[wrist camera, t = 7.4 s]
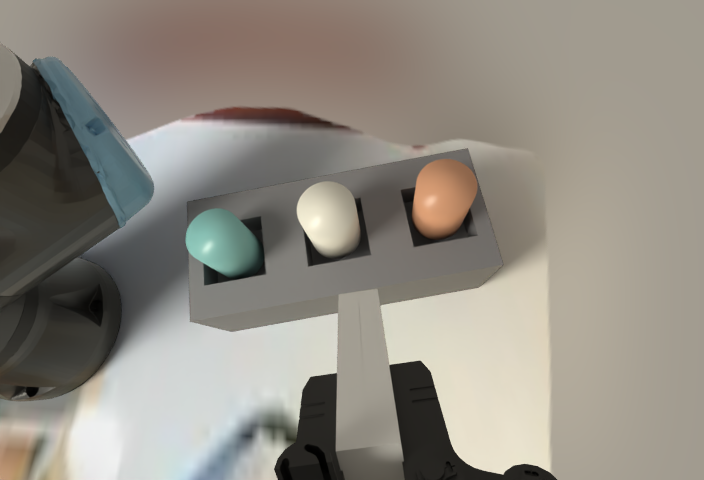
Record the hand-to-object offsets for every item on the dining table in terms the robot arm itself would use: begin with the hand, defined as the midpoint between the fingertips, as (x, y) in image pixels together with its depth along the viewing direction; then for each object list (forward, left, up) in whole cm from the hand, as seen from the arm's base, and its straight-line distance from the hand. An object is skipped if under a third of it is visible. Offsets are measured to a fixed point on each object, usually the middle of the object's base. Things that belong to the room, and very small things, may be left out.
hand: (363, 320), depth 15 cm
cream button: (-8, +7, -17) cm, 19 cm away
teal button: (-15, +1, -18) cm, 23 cm away
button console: (-8, +7, -25) cm, 27 cm away
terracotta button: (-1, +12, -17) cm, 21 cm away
